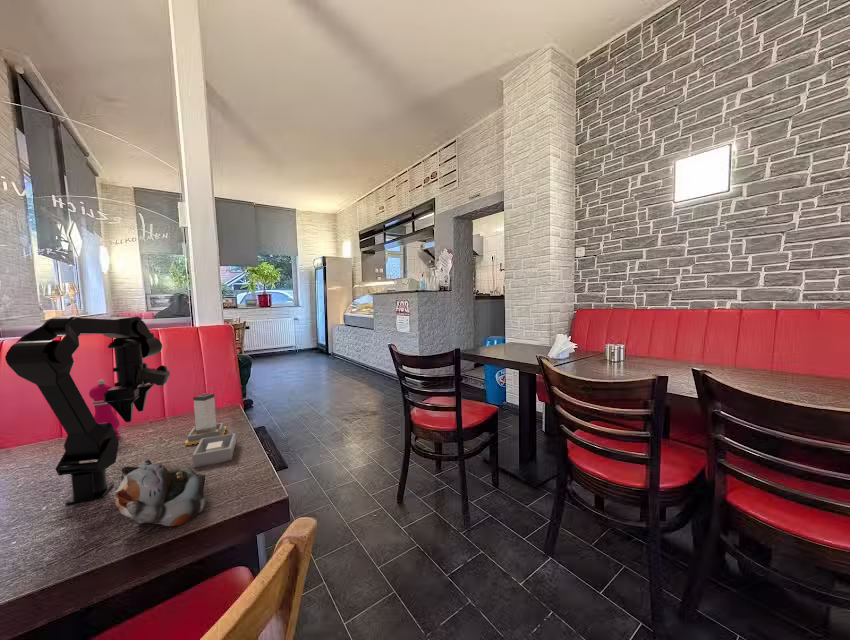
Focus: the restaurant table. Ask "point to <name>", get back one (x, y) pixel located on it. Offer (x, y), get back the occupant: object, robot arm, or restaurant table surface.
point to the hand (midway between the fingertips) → (134, 416)
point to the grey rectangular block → (204, 413)
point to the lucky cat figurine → (160, 494)
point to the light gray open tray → (214, 450)
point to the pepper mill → (103, 406)
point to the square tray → (204, 434)
